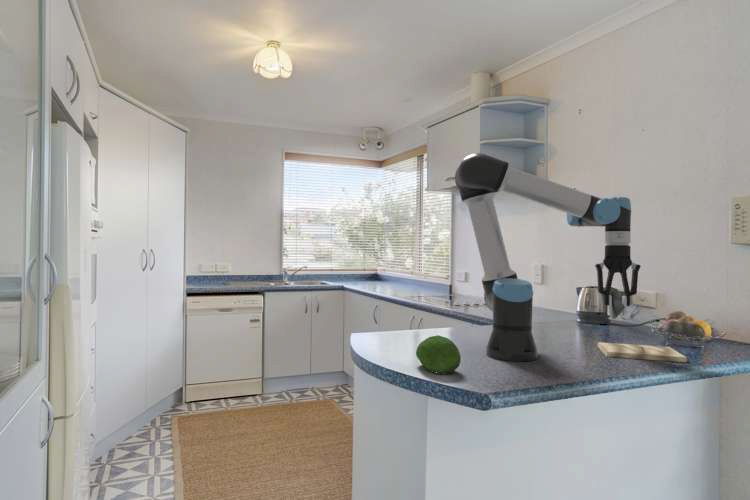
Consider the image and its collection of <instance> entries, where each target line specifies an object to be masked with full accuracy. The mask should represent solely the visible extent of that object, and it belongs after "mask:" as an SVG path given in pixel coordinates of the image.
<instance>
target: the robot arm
mask: <svg viewBox="0 0 750 500" xmlns="http://www.w3.org/2000/svg"><path fill="white" fill-rule="evenodd" d="M454 182H455V186H456V188H457V189H458V191H459V194H460V199H461V203H463V204H464V205H466V206H467V207H468V208H467V209H468V212H469V213H468V214H469V216H470V219H471V224H472V228H473V232H474V236H475V237H474V238H475V241H476V244H477V248H478V252H479V256H480V260H481V265H482V269H483V272H484V275H483V277H482V278H481V283H482V286H483V287H482V288H483V292H484V295H483V296H484V298H483V299H484V303H485V305H486V306H487V308H488V309H489V310H490V311H491V312H492V331H491V333H490V336H489V339H488V342H487V345H486V351H485V353H486V356H488V357H490V358H493V359H496V360H502V361H509V362H529V361H530V362H531V361H535V360H537V359H538V353H539V352H538V348H537V345H536V341H535V338H534V336H533V335H534V334H533V300H534V299H533V298H534V297H533V296H534V289H533V284H532V283H531V282H530V281H528V280H525V279H519V278H518V275H517V272H516V271H515V270H513V269H512V268H511V266H510V262H509V259H508V254H507V249H506V246H505V242H504V238H503V235H502V229H501V226H500V221H499V219H498V213H497V210H496V206H495V202H494V198H495V196H496V195H497V193H499V192H505V193H508V194H511V195H514V196H517V197H520V198H522V199H524V200H525V199H526V200H527V201H528V200H529V201H531V202H534V203H537V204H539V205H543V206H546V207H547V208H551V209H554V210H557V211H560V212H563V213H565V214H566V220H567V221H566V222H567V224H568V225H569V226H570V227H578V228H579V227H604V243H605V244H606V245H605V246H604V258H603V260H602V262H599V263H595V264H594V267H595V270H596V273H597V275H596V276H597V277H596V278H597V291H598V293H599V294H602V295H603V296H604V297H603V298H604V299H603V304H604V305H605V306H607V316H609V317H611V316H612V296H610V295H609V294H610V290H611V289H612V284H613V281H614V280H613V279H614V276H615V274H616V273H618V274H620V276H621V281H622V282H621V283H622V287H623V293H624V295H622V296H621V301H622V304H623V305H624V306H625V308H624V309H623V310H622V311H621V316H622V317H624V318H625V317H627V312H628V311H627V307H630V306H631V296H635V295H637V292H638V282H639V281H638V280H639V272H640V268H641V265H640V264H637V263H635V262H633V261H632V258H631V245H629V244H631V240H632V239H631V227H632V225H631V223H632V221H631V220H632V219H631V218H632V217H631V216H632V204H631V199H630V198H629V197H626V196H614V197H613V196H612V197H604V198H600V197H597V196H595V195H593V194H589V193H586V192H583V191H580V190H577V189H574V188H572V187H569V186H566V185H563V184H560V183H557V182H555V181H552V180H549V179H546V178H543V177H541V176H537V175H534V174H531V173H528V172H526V171H523V170H520V169H517V168H514V167H512V166H511V163H510V162H507V161H505V160H502V159H499V158H497V157H494V156H491V155H489V154H486V153H481V152H477V153H476V152H475V153H471V154H469V155H467V156H466V157H464V158H463V160H461V162H460V164H459V166H458V167H457V168H456V171H455V174H454ZM604 267H605V268H606V269H607V271H608V272H607V279H606V283H605V286H604V278H603V277H604V276H603V269H604ZM630 267H631V270H632V271H631V282H630V283H631V284H630V285H629V281H628V273H627V270H629V268H630Z"/></svg>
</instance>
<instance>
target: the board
mask: <svg viewBox="0 0 750 500" xmlns="http://www.w3.org/2000/svg"><path fill="white" fill-rule="evenodd" d="M597 347H598V349H600V351H601V352H602V353H603V354H604V355H605V357H609V358H610V357H611V358H623V359H634V360H635V359H636V360H649V361H662V362H663V361H664V362H676V363H678V362H679V363H688V362H687V360H688V358H687V356H685V355H684V354H682V353H680V352H678V351H677V350H675V349H674V348H672V347H670V346H659V345H646V344H645V345H644V344H633V343H632V344H629V343H613V342H600V341H599V342H597Z"/></svg>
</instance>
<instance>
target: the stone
mask: <svg viewBox="0 0 750 500" xmlns="http://www.w3.org/2000/svg"><path fill="white" fill-rule="evenodd" d="M609 295H610V296H612V316H610V317H611V319H613V320H615V319H617V318H618V317H619V316H620V314H621V313H622V310H623V309H624V308H625V306H624V305H623V304H622V298H621V297H620V296H619V295H618V294H617V292H616V291H614V289H612V288H611V289H610V294H609Z"/></svg>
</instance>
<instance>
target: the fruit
mask: <svg viewBox="0 0 750 500" xmlns="http://www.w3.org/2000/svg"><path fill="white" fill-rule="evenodd" d="M460 353H461V352H460V350H459V349H458V347H457V345H456V344H455V342H454V341H452V340H451V339H450V338H448V337H445V336H441V335H431V336H428V337H427V338H425V339H424V340H423V341H421V342H420V343H419V344H418V346H417V348H416V350H415V354H416V355H415V356H416V357H417V359H418V360H419V362H420V364H421V366H423V367H424V368H425V369H426V370H427V369H428V370H427V371H429V370H430V371H433V372H437V373H449V374H452V373H454V372H455V371H456V370H457V369H458V368H459V367H460V364H461V361H462V360H461V354H460ZM430 371H429V372H430ZM433 372H432V373H433ZM437 373H436V374H437Z"/></svg>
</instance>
